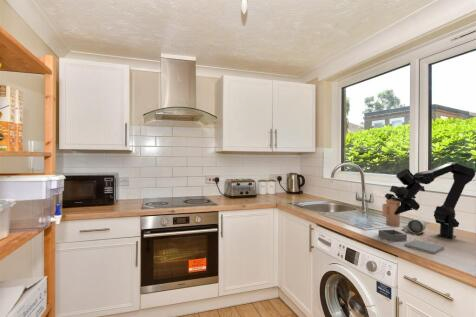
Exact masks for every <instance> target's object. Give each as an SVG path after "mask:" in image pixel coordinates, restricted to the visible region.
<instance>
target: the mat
mask: <svg viewBox="0 0 476 317" xmlns="http://www.w3.org/2000/svg"><path fill="white" fill-rule="evenodd" d="M403 246H404V247H406V248H409V249H414V250H418V251H421V252H425V253H429V254H433V255H437V253H439V252H441V251H443V250H444V249H445V246H442V245H438V244H434V243H430V242H426V241H423V240H419V239H412V240H410V241H409V242H406V243H404V245H403Z"/></svg>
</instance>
